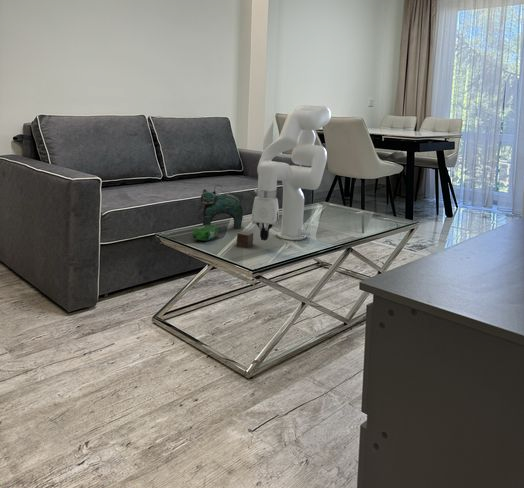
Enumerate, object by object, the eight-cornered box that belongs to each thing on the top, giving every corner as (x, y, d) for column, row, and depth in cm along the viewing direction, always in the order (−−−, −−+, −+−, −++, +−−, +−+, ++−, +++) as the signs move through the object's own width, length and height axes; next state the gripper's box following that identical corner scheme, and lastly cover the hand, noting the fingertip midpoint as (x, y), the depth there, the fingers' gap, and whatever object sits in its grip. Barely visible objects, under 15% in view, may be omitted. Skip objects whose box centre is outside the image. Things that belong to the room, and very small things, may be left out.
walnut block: (252, 244, 204) (253, 232, 204) (247, 247, 199) (248, 235, 199) (241, 243, 206) (242, 231, 206) (236, 245, 201) (237, 233, 201)
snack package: (189, 242, 203) (189, 229, 203) (206, 233, 218) (206, 222, 218) (204, 244, 201) (205, 232, 200) (220, 236, 216) (221, 224, 215)
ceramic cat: (199, 228, 226) (201, 185, 225) (199, 225, 233) (200, 183, 232) (242, 229, 230) (244, 186, 228) (241, 226, 236) (243, 184, 235)
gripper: (245, 193, 197) (243, 238, 198) (281, 197, 192) (278, 244, 193) (253, 191, 204) (250, 235, 205) (287, 195, 199) (284, 240, 200)
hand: (264, 239), depth 199 cm, fingers closed
